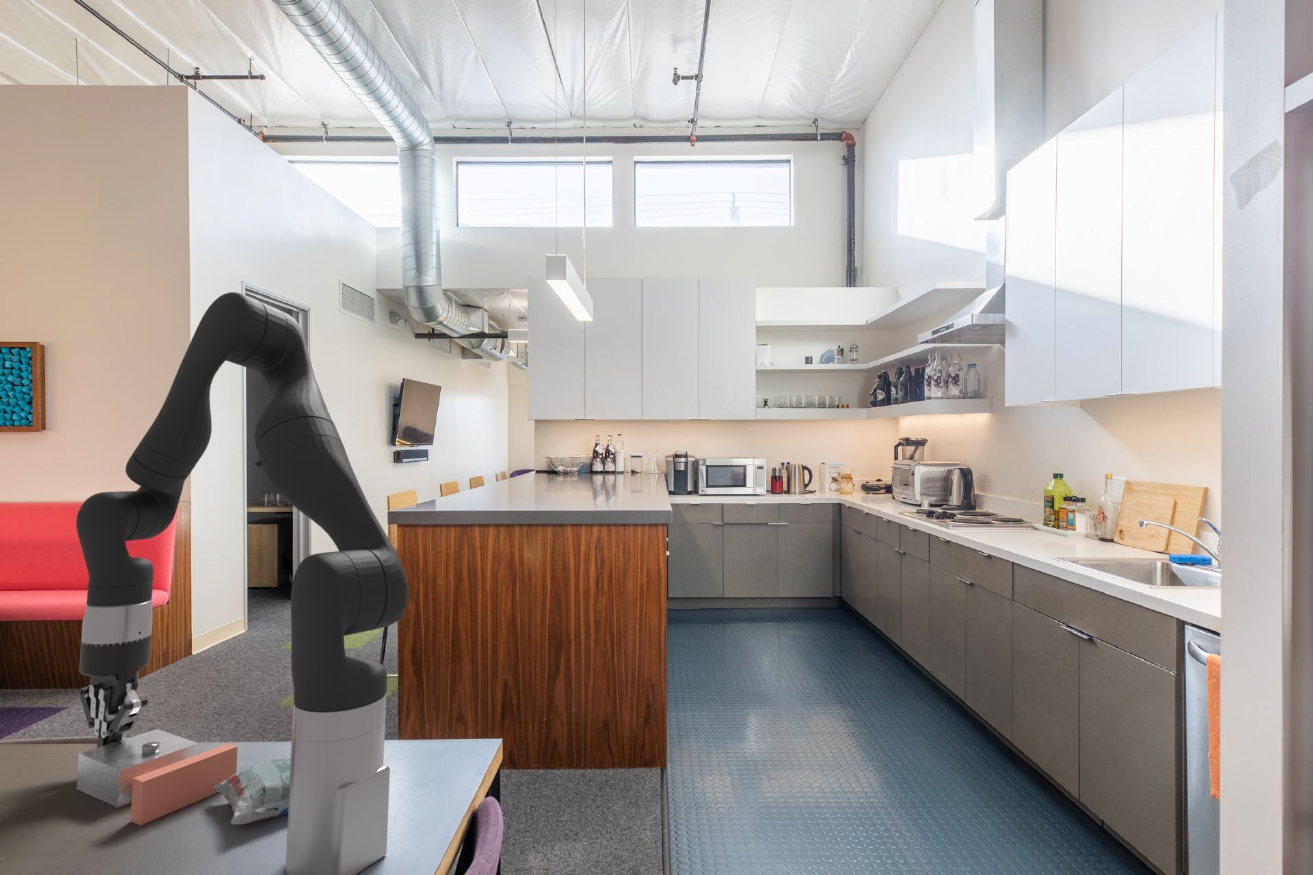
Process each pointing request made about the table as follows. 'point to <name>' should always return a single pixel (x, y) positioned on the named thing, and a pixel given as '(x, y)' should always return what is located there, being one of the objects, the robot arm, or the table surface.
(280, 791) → the packaged food
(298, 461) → the robot arm
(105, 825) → the table surface
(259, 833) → the table surface
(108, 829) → the table surface
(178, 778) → the salmon angled bracket
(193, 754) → the metal block with knob
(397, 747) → the table surface
